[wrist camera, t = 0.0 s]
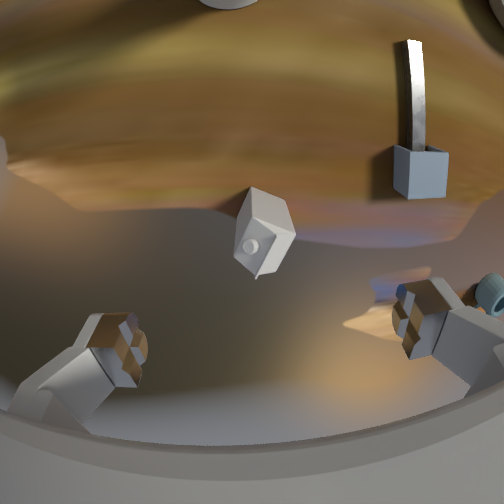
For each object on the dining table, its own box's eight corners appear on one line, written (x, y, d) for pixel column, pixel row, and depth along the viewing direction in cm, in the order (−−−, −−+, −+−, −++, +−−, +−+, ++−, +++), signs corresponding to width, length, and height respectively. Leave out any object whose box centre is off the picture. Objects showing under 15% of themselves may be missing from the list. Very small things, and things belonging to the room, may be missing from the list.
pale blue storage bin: (393, 144, 51) (410, 151, 46) (430, 145, 51) (448, 152, 45) (393, 187, 56) (407, 199, 50) (428, 186, 55) (445, 197, 49)
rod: (400, 41, 41) (407, 39, 39) (413, 43, 41) (420, 42, 38) (405, 151, 52) (412, 154, 50) (417, 151, 52) (424, 155, 50)
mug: (471, 313, 75) (486, 334, 66) (458, 301, 72) (474, 323, 63) (501, 279, 69) (519, 298, 60) (490, 263, 66) (509, 283, 57)
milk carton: (285, 199, 57) (300, 247, 41) (269, 230, 60) (277, 286, 44) (250, 185, 56) (252, 228, 39) (236, 217, 59) (231, 271, 42)
